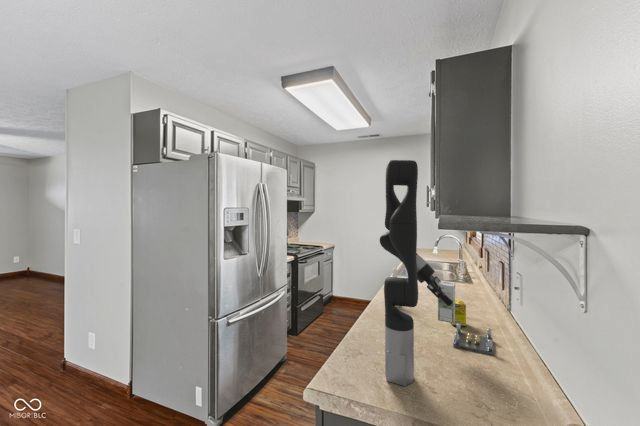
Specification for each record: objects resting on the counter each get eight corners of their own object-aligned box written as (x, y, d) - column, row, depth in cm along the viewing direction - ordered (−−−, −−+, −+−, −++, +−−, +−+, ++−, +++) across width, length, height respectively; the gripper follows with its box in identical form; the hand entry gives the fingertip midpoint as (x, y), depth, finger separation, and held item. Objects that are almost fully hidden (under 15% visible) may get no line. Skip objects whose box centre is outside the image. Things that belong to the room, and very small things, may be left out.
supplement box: (466, 327, 133) (466, 304, 133) (452, 326, 134) (452, 303, 134) (462, 322, 139) (462, 300, 139) (449, 321, 140) (449, 299, 140)
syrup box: (455, 318, 111) (455, 282, 111) (453, 323, 106) (453, 285, 106) (439, 316, 114) (439, 280, 114) (437, 320, 109) (437, 283, 109)
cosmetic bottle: (390, 306, 162) (390, 268, 162) (389, 303, 168) (389, 266, 168) (401, 307, 161) (400, 269, 161) (399, 303, 167) (399, 267, 167)
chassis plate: (493, 355, 107) (493, 342, 107) (453, 347, 114) (453, 334, 114) (492, 340, 119) (492, 328, 119) (455, 333, 126) (455, 322, 126)
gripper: (423, 265, 107) (457, 301, 102) (429, 259, 120) (460, 291, 114) (409, 277, 110) (441, 313, 104) (416, 271, 123) (446, 302, 117)
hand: (451, 301), depth 109 cm, fingers closed on syrup box, 6 cm apart
